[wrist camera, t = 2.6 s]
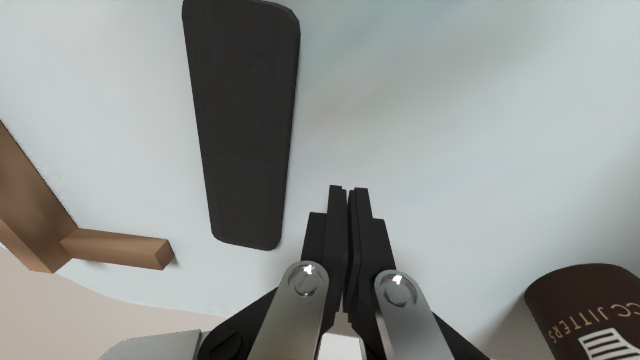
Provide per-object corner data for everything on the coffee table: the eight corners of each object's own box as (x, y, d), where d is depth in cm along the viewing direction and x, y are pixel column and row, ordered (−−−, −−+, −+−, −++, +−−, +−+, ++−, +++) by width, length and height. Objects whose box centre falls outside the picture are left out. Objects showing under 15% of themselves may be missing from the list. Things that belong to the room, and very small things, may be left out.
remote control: (200, -12, 10) (220, 230, 18) (175, -22, 9) (208, 247, 16) (307, 9, 10) (281, 242, 18) (300, 3, 9) (275, 260, 16)
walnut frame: (-250, -162, 8) (-503, -246, 6) (-12, -159, 8) (-182, -252, 5) (69, 241, 20) (29, 270, 18) (174, 255, 20) (148, 287, 17)
